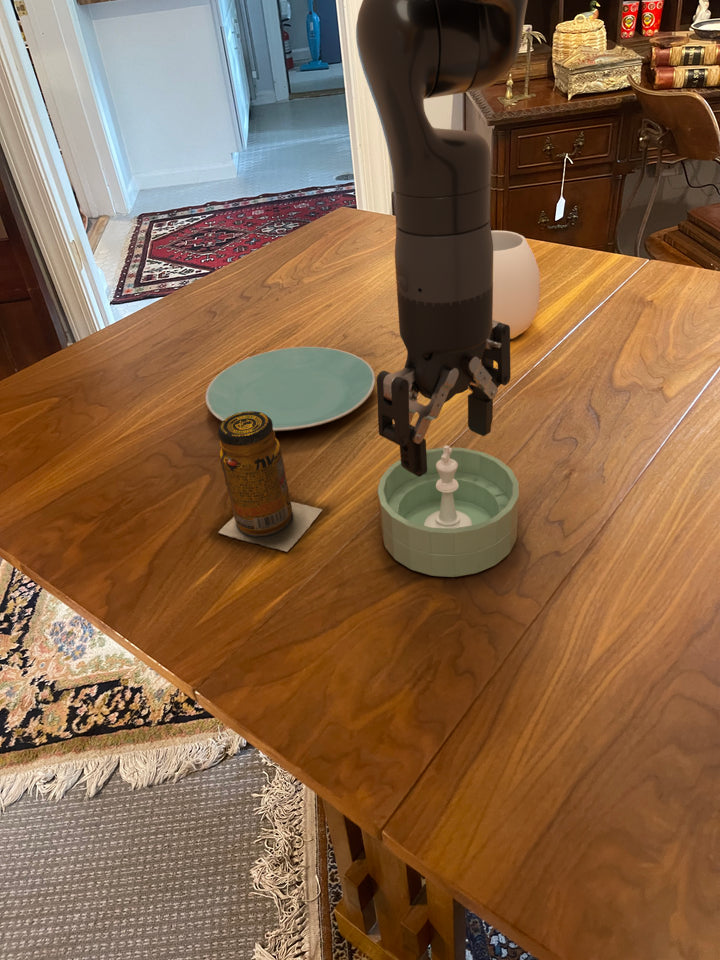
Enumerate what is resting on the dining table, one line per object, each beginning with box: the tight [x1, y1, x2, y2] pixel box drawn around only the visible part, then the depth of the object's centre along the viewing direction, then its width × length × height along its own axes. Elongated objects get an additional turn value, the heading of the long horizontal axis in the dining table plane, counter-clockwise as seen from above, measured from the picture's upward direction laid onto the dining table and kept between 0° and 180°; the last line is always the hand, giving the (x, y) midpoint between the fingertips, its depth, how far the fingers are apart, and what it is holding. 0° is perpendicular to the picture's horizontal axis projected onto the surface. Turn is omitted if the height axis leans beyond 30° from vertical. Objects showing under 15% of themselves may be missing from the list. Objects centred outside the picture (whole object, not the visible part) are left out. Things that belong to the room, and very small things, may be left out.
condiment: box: [217, 411, 323, 553], centre depth 73 cm, size 7×8×12 cm
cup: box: [491, 230, 541, 340], centre depth 104 cm, size 13×13×14 cm
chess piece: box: [424, 444, 473, 529], centre depth 70 cm, size 5×5×10 cm
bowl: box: [376, 446, 520, 578], centre depth 71 cm, size 13×13×6 cm
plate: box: [204, 346, 376, 432], centre depth 96 cm, size 22×22×3 cm
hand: (448, 451), depth 67 cm, fingers open, 8 cm apart
